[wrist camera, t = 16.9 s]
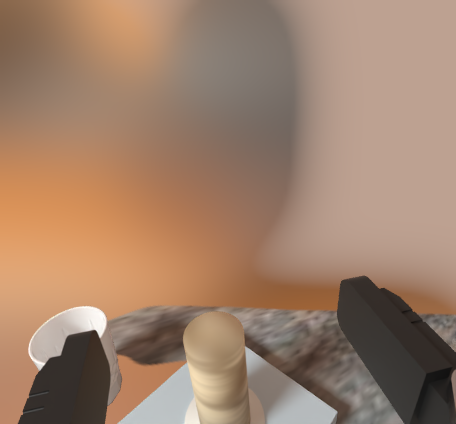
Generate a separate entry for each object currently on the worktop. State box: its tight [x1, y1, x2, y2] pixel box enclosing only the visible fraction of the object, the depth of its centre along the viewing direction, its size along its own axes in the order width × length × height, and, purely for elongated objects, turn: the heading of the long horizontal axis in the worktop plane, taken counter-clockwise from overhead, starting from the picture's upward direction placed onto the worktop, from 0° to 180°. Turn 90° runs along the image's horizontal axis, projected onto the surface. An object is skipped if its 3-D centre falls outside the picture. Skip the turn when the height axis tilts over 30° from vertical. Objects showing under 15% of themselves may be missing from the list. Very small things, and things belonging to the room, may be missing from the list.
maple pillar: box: [183, 311, 251, 424], centre depth 29 cm, size 5×5×12 cm
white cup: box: [29, 306, 122, 406], centre depth 36 cm, size 8×8×10 cm
